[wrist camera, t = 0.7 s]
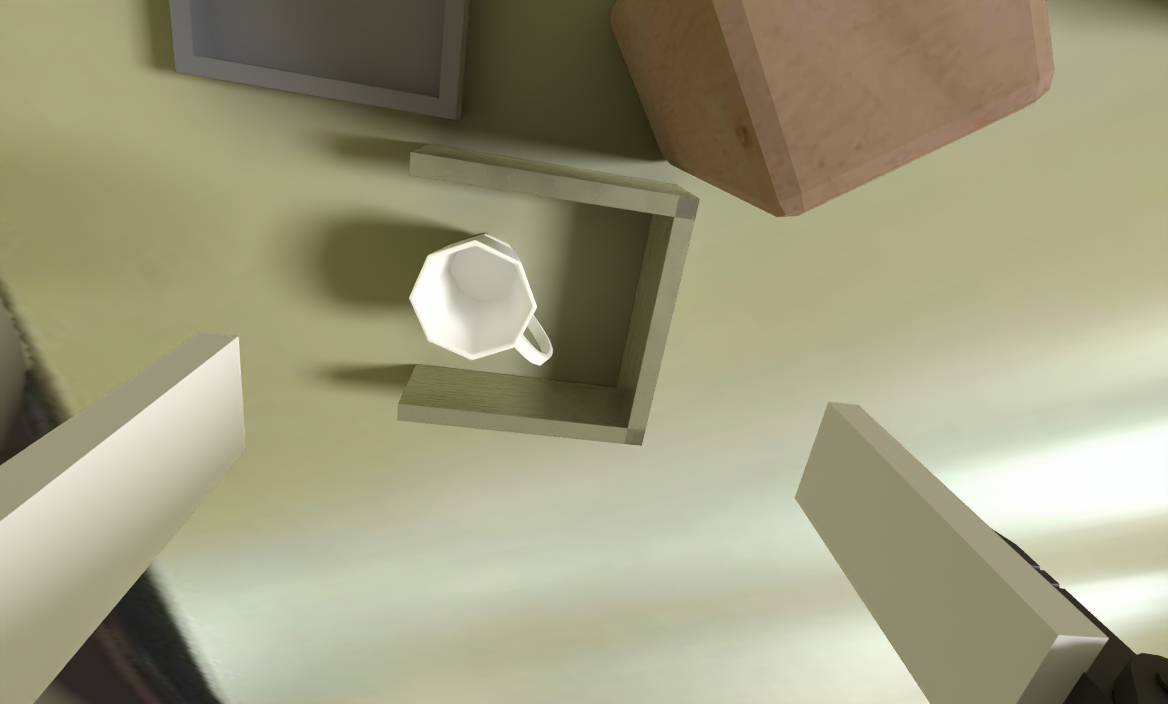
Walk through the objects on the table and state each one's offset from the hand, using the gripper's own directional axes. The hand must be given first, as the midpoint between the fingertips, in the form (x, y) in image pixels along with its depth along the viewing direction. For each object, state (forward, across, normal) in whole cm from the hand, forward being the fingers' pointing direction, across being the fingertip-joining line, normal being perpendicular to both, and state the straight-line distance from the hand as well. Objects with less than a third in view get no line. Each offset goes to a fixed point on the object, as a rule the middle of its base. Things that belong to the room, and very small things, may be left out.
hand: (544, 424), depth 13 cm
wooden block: (+28, +9, +11) cm, 31 cm away
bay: (+28, +1, -5) cm, 28 cm away
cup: (+28, -2, -5) cm, 29 cm away
